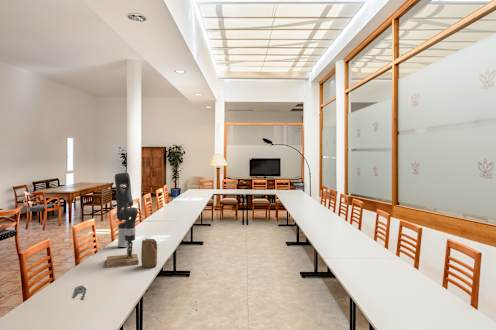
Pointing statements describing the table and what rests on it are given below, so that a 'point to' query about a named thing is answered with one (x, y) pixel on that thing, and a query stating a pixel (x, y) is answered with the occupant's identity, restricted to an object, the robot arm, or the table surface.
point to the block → (149, 253)
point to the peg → (127, 254)
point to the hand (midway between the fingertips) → (129, 254)
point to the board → (121, 260)
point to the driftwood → (79, 292)
